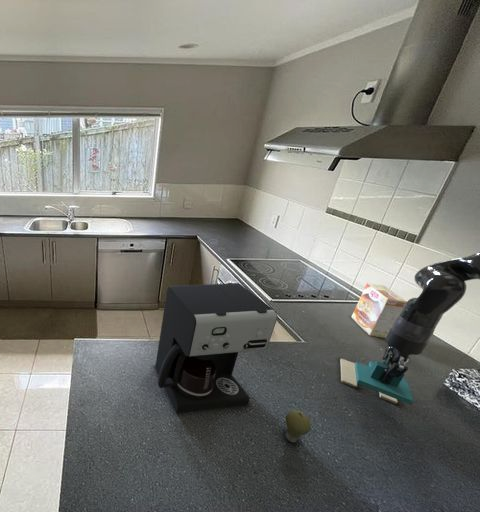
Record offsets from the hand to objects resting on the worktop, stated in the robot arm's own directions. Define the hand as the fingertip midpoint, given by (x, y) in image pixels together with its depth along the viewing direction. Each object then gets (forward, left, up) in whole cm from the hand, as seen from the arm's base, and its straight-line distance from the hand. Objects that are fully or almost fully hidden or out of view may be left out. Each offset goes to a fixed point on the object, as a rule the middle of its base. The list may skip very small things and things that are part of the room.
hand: (383, 378), depth 86 cm
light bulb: (+19, +31, -11) cm, 38 cm away
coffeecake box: (-4, -56, -11) cm, 58 cm away
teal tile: (0, -2, -2) cm, 3 cm away
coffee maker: (+47, +31, -11) cm, 57 cm away
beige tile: (0, -12, -11) cm, 17 cm away
